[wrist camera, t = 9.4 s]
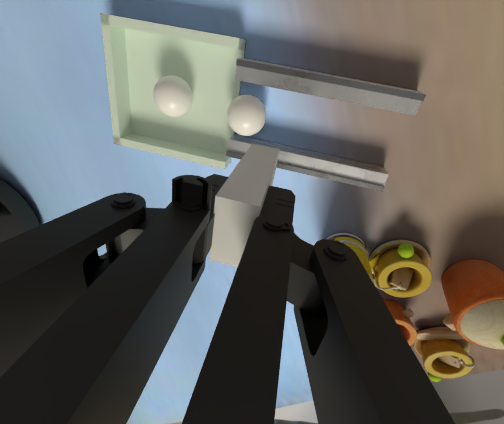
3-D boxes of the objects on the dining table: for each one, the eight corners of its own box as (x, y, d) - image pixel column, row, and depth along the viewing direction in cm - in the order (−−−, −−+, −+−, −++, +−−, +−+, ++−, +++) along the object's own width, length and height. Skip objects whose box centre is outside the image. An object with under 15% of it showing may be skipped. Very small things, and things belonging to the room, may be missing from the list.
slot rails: (232, 150, 31) (225, 156, 28) (243, 57, 26) (236, 57, 24) (377, 182, 29) (381, 192, 27) (417, 90, 24) (426, 93, 22)
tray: (127, 138, 33) (114, 143, 31) (117, 16, 27) (100, 13, 24) (230, 162, 31) (224, 169, 29) (245, 39, 25) (239, 38, 23)
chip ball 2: (243, 126, 30) (218, 134, 27) (245, 88, 28) (218, 93, 25) (271, 135, 28) (248, 144, 25) (275, 96, 26) (250, 102, 23)
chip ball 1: (156, 110, 29) (150, 118, 26) (155, 70, 27) (149, 74, 24) (193, 114, 30) (191, 123, 27) (194, 76, 28) (192, 80, 25)
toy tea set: (368, 227, 32) (386, 286, 24) (526, 238, 29) (610, 309, 20) (344, 364, 44) (350, 433, 36) (452, 382, 41) (485, 463, 33)
